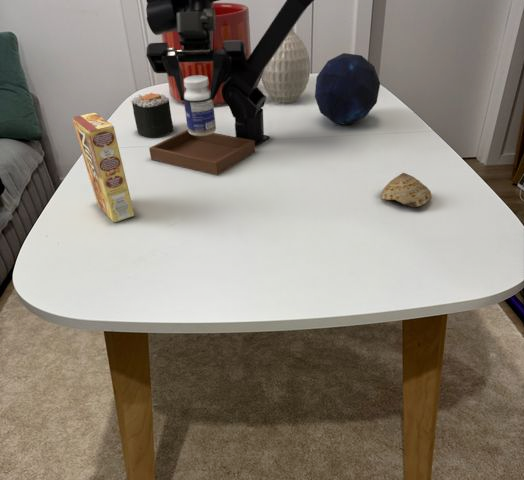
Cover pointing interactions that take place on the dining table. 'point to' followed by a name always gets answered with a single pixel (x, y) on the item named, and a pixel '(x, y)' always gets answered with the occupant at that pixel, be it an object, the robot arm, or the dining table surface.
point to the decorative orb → (347, 88)
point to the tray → (203, 151)
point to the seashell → (406, 191)
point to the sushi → (152, 115)
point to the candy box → (104, 165)
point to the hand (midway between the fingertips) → (196, 99)
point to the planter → (227, 28)
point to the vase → (287, 71)
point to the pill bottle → (199, 106)
